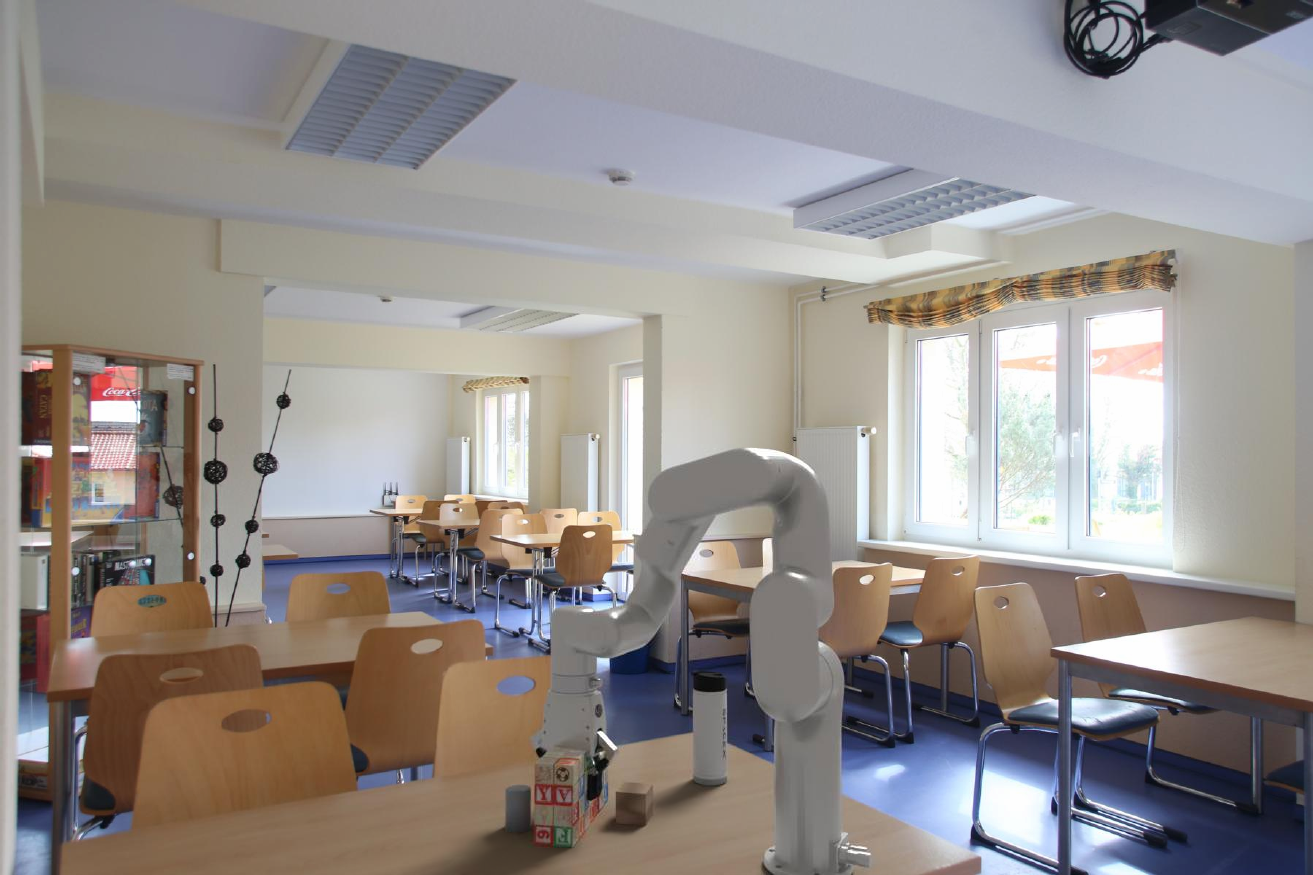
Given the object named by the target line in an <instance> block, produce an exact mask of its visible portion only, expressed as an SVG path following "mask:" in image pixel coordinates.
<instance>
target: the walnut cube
mask: <svg viewBox="0 0 1313 875" xmlns="http://www.w3.org/2000/svg"><path fill="white" fill-rule="evenodd" d="M653 815H654V784H653V783H646V782H645V783H644V782H643V783H642V782H630V781H623V782H622V783H621V784H620V786H619V787H618V788H617V790H615V824H623V825H624V824H625V825H634V826H635V825H637V826H638V825H639V826H647V825H648V823H649V822H650V820H651V818H652V816H653Z"/></svg>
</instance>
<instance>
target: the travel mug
mask: <svg viewBox="0 0 1313 875" xmlns="http://www.w3.org/2000/svg"><path fill="white" fill-rule="evenodd" d="M690 674H691V676H692V677H693V679H692V680H693V681H692V684H693V686H692V687H693V688H692V771H693V772H692V780H693V781H694V782H695V784H698V785H701V786H712V787H713V786H721V785H724V784H725V783H727V781H728V772H727V771H728V720H727V719H728V715H727V714H728V699H727V698H728V697H727V696H728V694H727V691H728V688H727V676H726V675H723V674H722V673H720V672H715V671H710V670H691V672H690Z"/></svg>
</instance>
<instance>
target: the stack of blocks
mask: <svg viewBox="0 0 1313 875" xmlns="http://www.w3.org/2000/svg"><path fill="white" fill-rule="evenodd" d="M599 753H600V755H601V757H602V759H603V757H604V755H605V754H606V752H605V751H603V752H599ZM589 774H590V770H589V768H588V766H587V757H586V751H580V750H573V749H568V748H562V747H556V746H553V747H552V748H551V749H550V750H549V751H548V752H547V753H546V754H545V755H543V756H542V757H541V758H539V759H537V761H535V763H534V786H533V789H534V792H533V796H534V797H533V798H534V799H533V800H534V824H533V844H534V845H537V846H548V847H549V846H550V847H553V846H554V847H563V848H573V847H574V846H575V845H576V843H577V842H578V841H579V840H580V839H581V838H582V836H583V835H584V833H585V832H586V831H587V829H588V828H589V827H590V825H591V823H592V822H593V820H594V819H595V817H596V816H597V815H598V813H599V811H601V809H602V808H603V807H604V805H605V804H606V803H607V801H608V800H609V765H608V766H607V767H606V768H605V770H604V771H602V792H601V795H600V796H599V797H597V798H596V799H594V800H592V801H589V800H588V799H587V784H588V775H589Z"/></svg>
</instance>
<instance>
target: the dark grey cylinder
mask: <svg viewBox="0 0 1313 875" xmlns="http://www.w3.org/2000/svg"><path fill="white" fill-rule="evenodd" d="M504 800H505V807H504V809H505V815H504V816H505V818H504V830H506V831H507V832H510V833H513V834H514V833H524V832H527V831H529V830H530V829H531V827H532V818H531V817H532V787H531V786H529V785H525V784H514V785H510V786H508V787H505V799H504Z"/></svg>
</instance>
